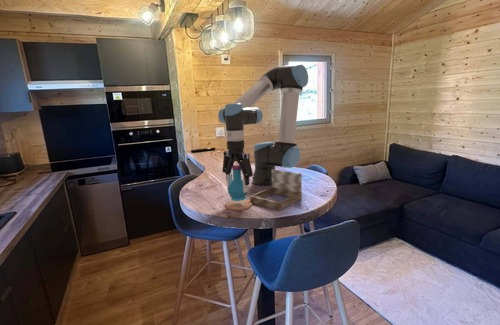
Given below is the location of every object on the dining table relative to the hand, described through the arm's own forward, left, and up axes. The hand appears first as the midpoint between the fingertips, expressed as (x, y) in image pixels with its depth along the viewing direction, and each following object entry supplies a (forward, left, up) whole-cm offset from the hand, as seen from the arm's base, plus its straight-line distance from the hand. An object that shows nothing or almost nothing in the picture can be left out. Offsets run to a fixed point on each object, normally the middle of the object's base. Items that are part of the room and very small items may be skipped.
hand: (237, 189), depth 121 cm
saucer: (0, 0, -7) cm, 7 cm away
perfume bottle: (0, 0, -4) cm, 4 cm away
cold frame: (+10, +15, -7) cm, 19 cm away
